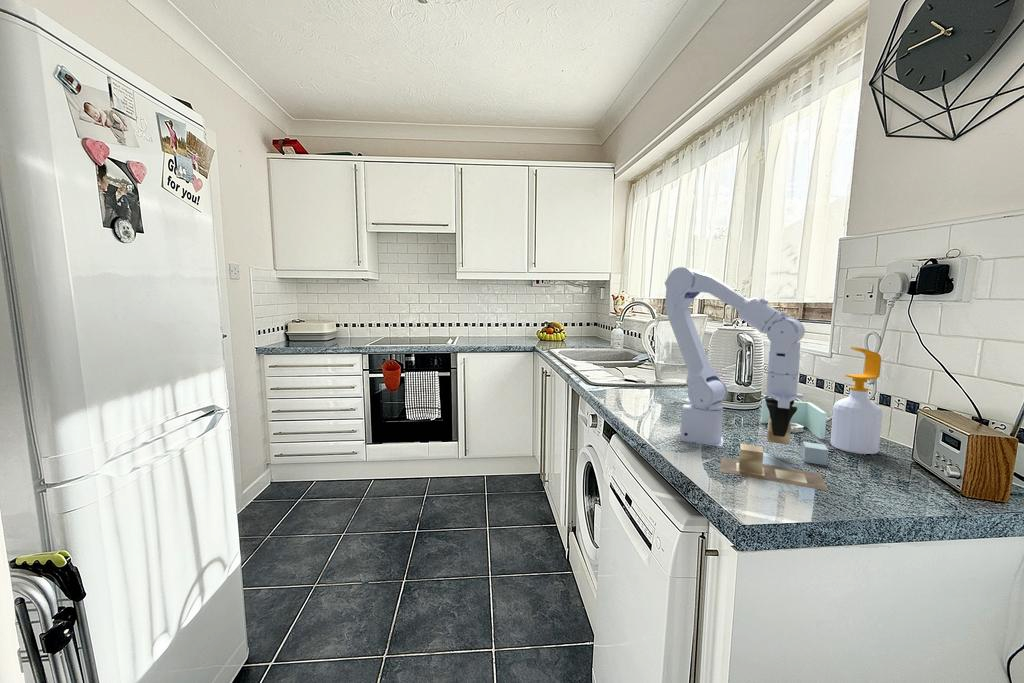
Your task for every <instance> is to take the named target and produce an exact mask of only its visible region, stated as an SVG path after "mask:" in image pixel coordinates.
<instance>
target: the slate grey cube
mask: <svg viewBox="0 0 1024 683" xmlns="http://www.w3.org/2000/svg"><path fill="white" fill-rule="evenodd" d="M801 457H802V460H803V462H804V463H809V464H815V465H816V464H817V465H822V466H827V465H828V459H829V458H828V457H829V449H828V447H827V445H826V444H822V443H815V442H807V441H802V449H801Z"/></svg>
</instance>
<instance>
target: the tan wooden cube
mask: <svg viewBox="0 0 1024 683" xmlns="http://www.w3.org/2000/svg"><path fill="white" fill-rule="evenodd" d="M766 429H767V430H766V432H767V433H766V439H767V443H774V444H781V445H787V446H788V445H789V446H790V443H791V441H790V440H791V433H792V431H791V423H790V422H789V425H788V429H787V432H786V434H785V436H784V437H781V436H774V435H773V431H772V423H771V418H768V424H767V428H766ZM790 432H791V433H790Z"/></svg>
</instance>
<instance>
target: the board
mask: <svg viewBox="0 0 1024 683" xmlns="http://www.w3.org/2000/svg"><path fill="white" fill-rule="evenodd" d="M719 466H720V467H719V473H725V474H730V475H736V476H742V477H748V478H754V479H759V480H764V481H770V482H776V483H781V484H785V485H794V486H796V487H797V486H798V487H805V488H810V489H814V490H821V491H827V492H829V488H828V486H827V484H826V482H825V480H824V478H823V476H822V473H820V472H815V471H809V470H803V469H795V468H791V467H790V468H789V467H785V466H784V467H783V466H779V465H778V466H777V465H770V464H765V463H763V465H762V474H756V473H750V472H744V471H739V459H734V458H728V457H721V458H720V465H719Z"/></svg>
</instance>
